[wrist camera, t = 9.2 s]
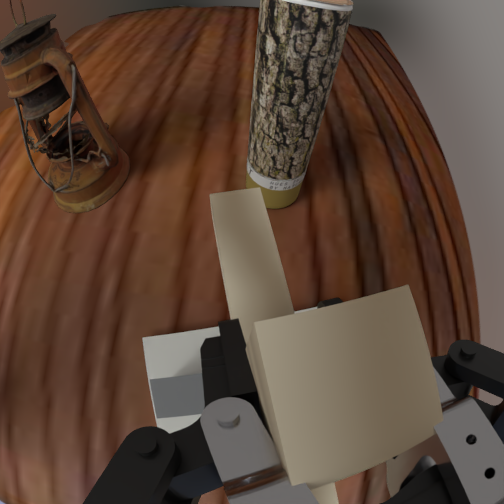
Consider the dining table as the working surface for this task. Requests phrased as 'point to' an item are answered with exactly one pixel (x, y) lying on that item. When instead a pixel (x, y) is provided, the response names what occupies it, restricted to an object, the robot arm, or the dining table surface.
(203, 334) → the ridge stand
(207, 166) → the dining table surface
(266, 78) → the bark print canister
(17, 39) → the lantern
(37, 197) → the dining table surface
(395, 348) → the birch T-bar
